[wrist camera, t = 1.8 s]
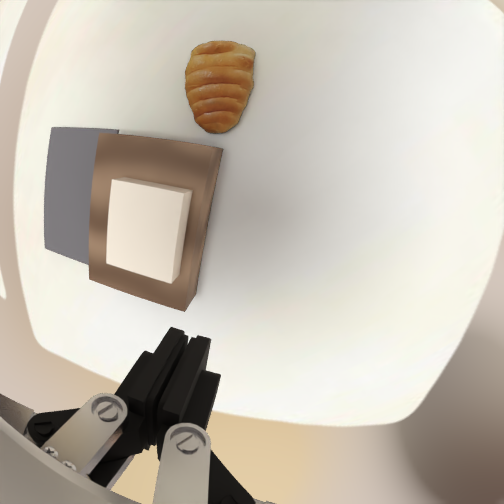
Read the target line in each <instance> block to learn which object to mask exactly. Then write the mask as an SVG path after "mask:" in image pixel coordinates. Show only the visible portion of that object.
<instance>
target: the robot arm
mask: <svg viewBox="0 0 504 504" xmlns="http://www.w3.org/2000/svg"><path fill="white" fill-rule="evenodd" d="M210 343H211V339H210V338H206V337H203V336H199V335H198V336H197V337H196V338H194V337H191V339H190V341H189V343H188V336H187V335H184V331H183V330H179V329H176V328H173V327H171V328H170V329H169V330H168V332H167V333H166V335H165V336H164V338H163V339H162V341H161V343H160V344H159V346H158V347H157V349H156V350H155V352H154V353H150V352H148V351H144V352H143V353H142V354H141V356H140V357H139V359H138V360H137V361H136V363H135V364H134V366H133V367H132V369H131V370H130V372H129V373H128V375H127V376H126V378H125V379H124V381H123V382H122V384H121V385H120V387H119V388H118V390H117V391H116V393H115V394H109V393H100V394H97V395H95V396H93V397H92V398H90V399H89V400H88V402H86V403H85V404H84V405H83V406H82V407H81V408H77V409H70V410H62V411H54V412H45V413H39V414H37V413H35V412H34V410H33V409H30V408H28V407H26V406H24V405H22V404H19V403H17V402H15V401H13V400H11V399H10V398H8V397H6V396H4V395H2V394H0V504H141V503H138V502H135V501H133V500H131V499H128V498H126V497H124V496H121V495H119V494H117V493H115V492H113V491H110V490H111V488H112V487H113V486H114V484H115V483H116V481H117V480H118V479H119V477H120V476H121V475H122V473H123V472H124V471H125V469H126V468H127V466H128V465H129V464H130V462H131V461H132V460H133V458H134V456H135V454H139V453H142V451H143V449H146V450H149V448H150V446H151V445H153V446H155V445H156V444H157V453H158V459H159V461H160V465H159V470H158V476H157V482H156V487H155V493H154V499H153V504H275V503H272V502H268V501H266V502H263V501H260V500H257V499H254V498H252V496H251V495H250V494H249V493H248V492H247V491H246V490H245V489H244V488H243V487H242V486H241V485H240V483H239V482H238V481H237V480H236V479H235V478H234V477H233V476H232V474H231V473H230V472H229V471H228V470H227V469H226V467H225V466H224V465H223V464H222V463H221V461H220V460H219V459H218V458H217V456H216V455H215V454H214V453H213V452H212V450H211V441H210V437H209V435H208V433H206V428H207V425H208V421H209V417H210V415H211V411H212V408H213V404H214V401H215V397H216V393H217V390H218V386H219V381H220V377H221V375H220V374H217V373H213V372H209V371H206V365H207V359H208V354H209V349H210ZM187 344H188V345H187Z"/></svg>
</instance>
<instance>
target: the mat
mask: <svg viewBox="0 0 504 504" xmlns="http://www.w3.org/2000/svg"><path fill="white" fill-rule="evenodd" d="M118 132H119V130H113V129H97V128H65V127H52V128H51V134H50V141H49V148H48V156H47V166H46V178H45V195H44V240H45V248H46V249H48V250H51V251H53V252H56V253H58V254H61V255H63V256H66V257H69V258H71V259H74V260H77V261H79V262H82V263H85V264H87V265H89V219H90V202H91V190H92V180H93V171H94V163H95V156H96V149H97V143H98V137H99V133H111V134H118Z"/></svg>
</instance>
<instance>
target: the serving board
mask: <svg viewBox="0 0 504 504" xmlns="http://www.w3.org/2000/svg"><path fill="white" fill-rule="evenodd" d="M222 152H223V149H221V148H216V147H211V146H206V145H200V144H194V143H188V142H181V141H174V140H167V139H159V138H151V137H143V136H133V135H123V134H111V133H99V137H98V143H97V149H96V156H95V163H94V171H93V180H92V190H91V202H90V219H89V279H90V280H93V281H95V282H98V283H100V284H103V285H106V286H109V287H111V288H114V289H117V290H120V291H122V292H125V293H128V294H131V295H134V296H137V297H140V298H143V299H146V300H149V301H152V302H155V303H158V304H161V305H164V306H167V307H171V308H174V309H177V310H180V311H184V312H185V311H186V309H187V307H188V306H189V304H190V303H191V301H192V299H193V298H194V296H195V295H196V290H197V283H198V277H199V271H200V265H201V259H202V253H203V247H204V241H205V236H206V230H207V225H208V220H209V214H210V209H211V204H212V199H213V194H214V189H215V184H216V179H217V175H218V170H219V165H220V161H221V156H222ZM123 177H126V178H132V179H137V180H143V181H148V182H153V183H158V184H164V185H169V186H174V187H179V188H183V189H188V190H193V191H192V197H191V202H190V208H189V214H188V220H187V226H186V232H185V239H184V246H183V252H182V260H181V267H180V274H179V275H178V277H177V278H176V279H175V280H174V281H173V282H172V283H171V284H170V283H167V282H164V281H160V280H157V279H154V278H150V277H147V276H144V275H141V274H138V273H134V272H131V271H128V270H125V269H122V268H119V267H116V266H113V265H110V264H107V263H106V253H107V228H108V213H109V201H110V192H111V183H112V179H117V178H123Z"/></svg>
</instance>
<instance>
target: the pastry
mask: <svg viewBox="0 0 504 504" xmlns="http://www.w3.org/2000/svg"><path fill="white" fill-rule="evenodd" d="M254 57H255V51H254V50H253V49H252V48H250V47H247V46H246V45H243V44H238V43H236V42H232V41H211V42H208V43H205V44H201V45H198V46H197V47H195V48H194V50H193V51H192V53H191V58H190V61H189V62H188V65H187V67H186V71H185V78H186V82H185V90H186V96H187V98H188V101H189V105H190V107H191V109H192V111H193V114H194V119H195V122H196V123H197V124H198V125H199V126H200V127H202V128H203V129H205V131H206V132H208V133H223V132H226V131H228V130H229V129H231V128H232V127H233V126H235V125H236V124H237V123H238V122H239V119H240V116H241V114H242V111H243V110H244V108H245V107H246V105H247V102H248V97H249V95H250V92H251V90H252V89H253V86H254V81H253V78H252V76H253V63H254Z"/></svg>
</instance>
